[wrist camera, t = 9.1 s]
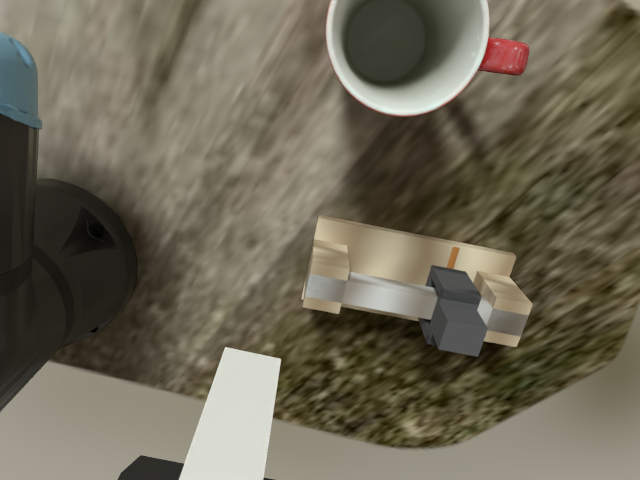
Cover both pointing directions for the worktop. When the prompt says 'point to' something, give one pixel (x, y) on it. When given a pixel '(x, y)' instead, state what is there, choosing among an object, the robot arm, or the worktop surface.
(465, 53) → the mug
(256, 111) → the worktop surface
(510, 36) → the worktop surface
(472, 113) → the worktop surface
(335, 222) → the rail
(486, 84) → the worktop surface
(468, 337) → the dark grey sliding collar
